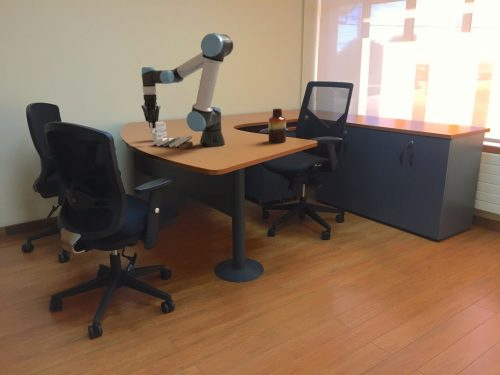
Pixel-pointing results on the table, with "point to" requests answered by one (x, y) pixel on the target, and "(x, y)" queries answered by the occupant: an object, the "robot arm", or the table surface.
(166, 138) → the domino
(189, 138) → the domino
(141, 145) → the table surface
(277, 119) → the brown bottle
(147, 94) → the robot arm
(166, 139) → the domino
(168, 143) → the domino
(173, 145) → the domino
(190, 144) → the block
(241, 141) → the table surface
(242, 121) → the table surface
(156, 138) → the ink box
